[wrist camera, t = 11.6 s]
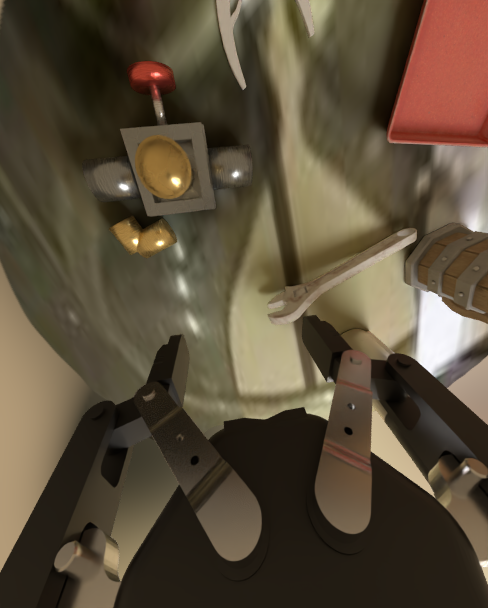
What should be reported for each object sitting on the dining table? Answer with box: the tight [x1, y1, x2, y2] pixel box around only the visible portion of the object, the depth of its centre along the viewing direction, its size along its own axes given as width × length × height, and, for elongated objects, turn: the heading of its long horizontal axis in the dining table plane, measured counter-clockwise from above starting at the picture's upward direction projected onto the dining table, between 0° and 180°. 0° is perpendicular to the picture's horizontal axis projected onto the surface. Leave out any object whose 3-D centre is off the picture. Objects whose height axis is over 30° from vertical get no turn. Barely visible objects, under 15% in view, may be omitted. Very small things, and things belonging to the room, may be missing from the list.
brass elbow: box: [109, 216, 177, 258], centre depth 29 cm, size 7×4×6 cm
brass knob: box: [135, 135, 193, 199], centre depth 22 cm, size 5×5×8 cm
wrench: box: [268, 228, 417, 325], centre depth 36 cm, size 8×2×30 cm
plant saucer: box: [387, 0, 488, 147], centre depth 25 cm, size 18×18×3 cm
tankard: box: [405, 223, 488, 324], centre depth 36 cm, size 20×13×15 cm, turn 25°
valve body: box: [82, 61, 253, 216], centre depth 24 cm, size 19×13×5 cm
